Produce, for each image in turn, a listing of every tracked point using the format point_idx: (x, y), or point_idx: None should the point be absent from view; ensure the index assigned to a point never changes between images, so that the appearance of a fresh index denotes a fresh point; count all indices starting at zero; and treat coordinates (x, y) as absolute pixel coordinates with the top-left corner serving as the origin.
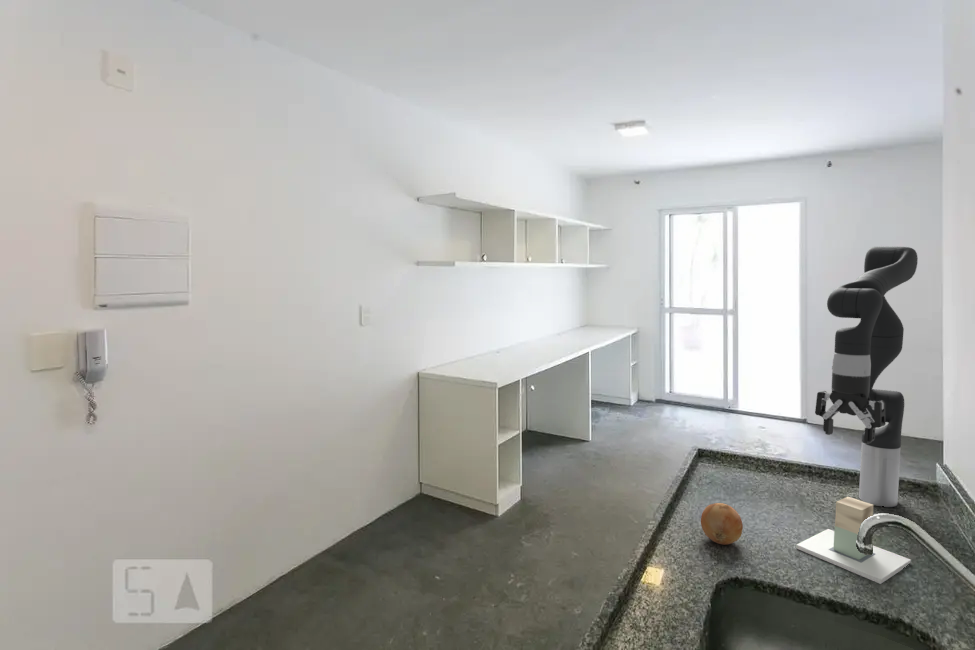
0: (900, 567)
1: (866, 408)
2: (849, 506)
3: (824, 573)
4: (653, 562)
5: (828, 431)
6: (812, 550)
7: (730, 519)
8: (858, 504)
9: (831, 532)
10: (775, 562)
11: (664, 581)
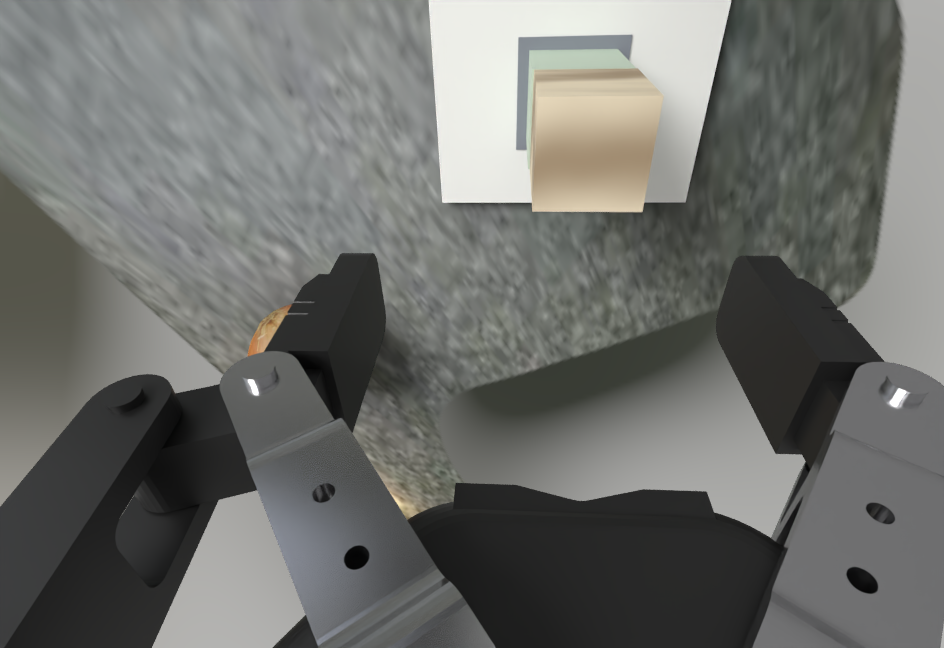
0: (717, 55)
1: (939, 609)
2: (589, 211)
3: (560, 262)
4: None
5: (378, 344)
6: (489, 197)
7: None
8: (611, 158)
9: None
10: (460, 307)
11: (398, 494)
